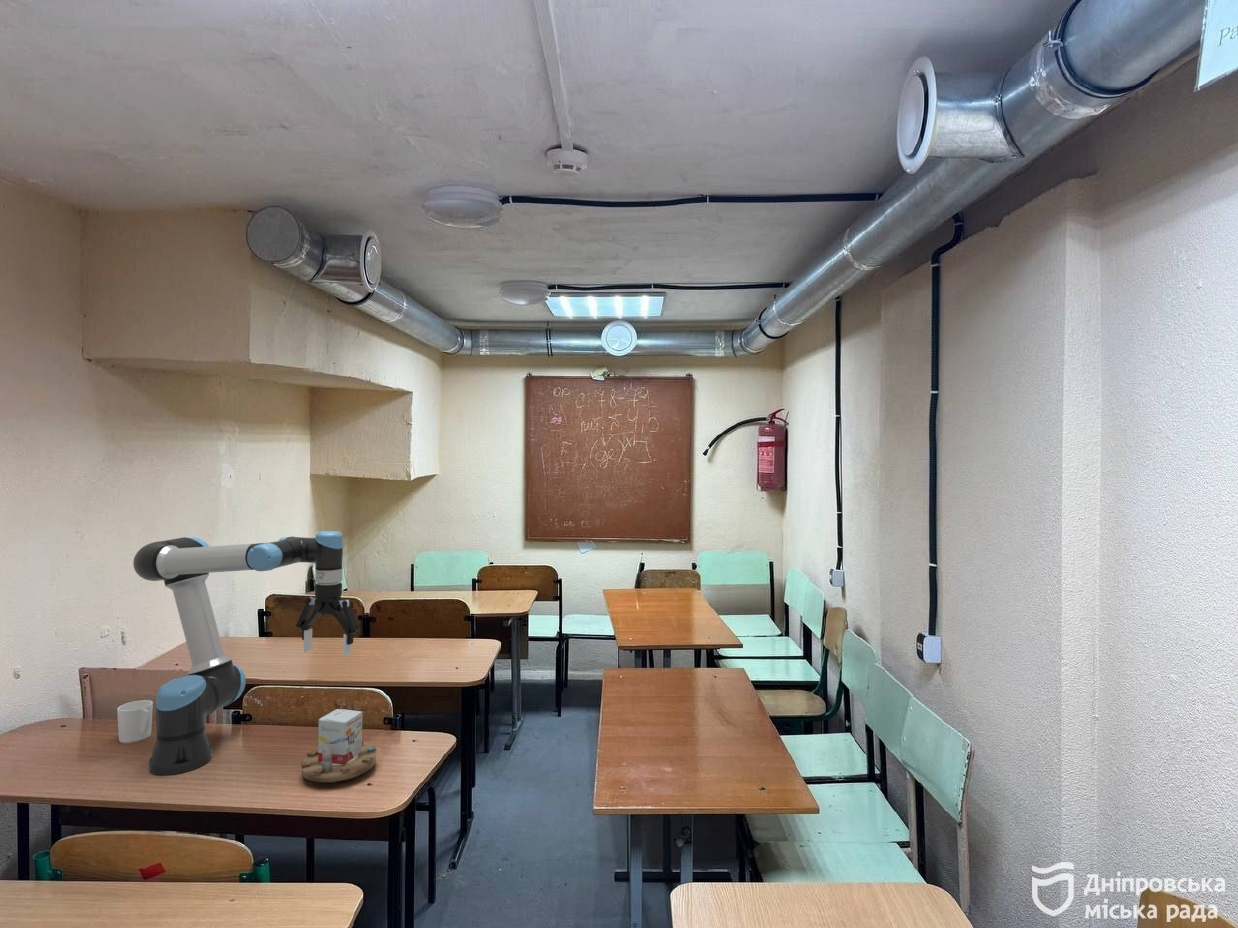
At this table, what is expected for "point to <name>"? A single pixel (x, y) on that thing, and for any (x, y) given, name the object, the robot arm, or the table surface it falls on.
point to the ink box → (341, 735)
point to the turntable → (337, 765)
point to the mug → (135, 721)
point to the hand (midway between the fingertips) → (327, 652)
